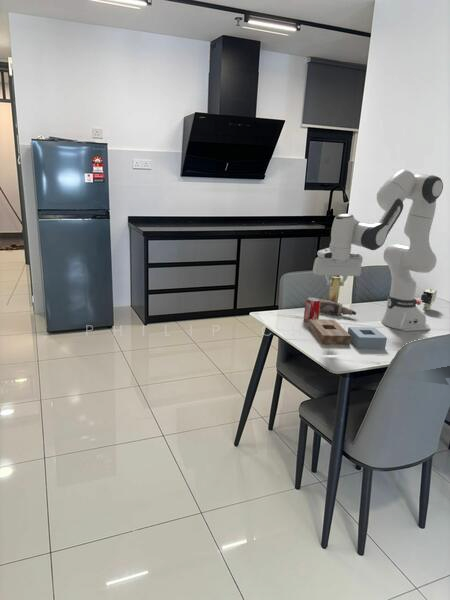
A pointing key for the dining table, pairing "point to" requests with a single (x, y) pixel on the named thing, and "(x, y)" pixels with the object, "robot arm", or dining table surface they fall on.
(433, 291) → the pneumatic valve
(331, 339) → the wooden socket block
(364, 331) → the dock block
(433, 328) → the dining table surface
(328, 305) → the decorative bottle
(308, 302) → the soda can
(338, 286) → the brass pin
